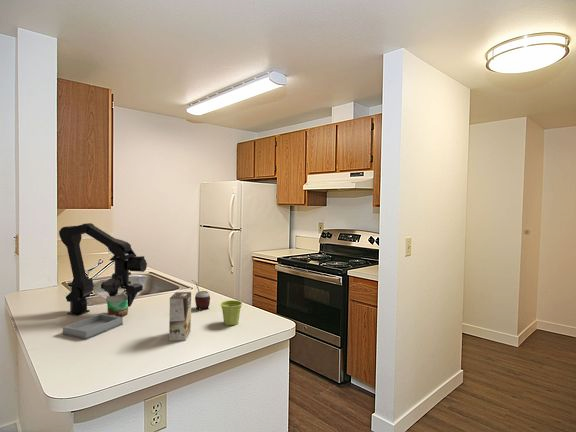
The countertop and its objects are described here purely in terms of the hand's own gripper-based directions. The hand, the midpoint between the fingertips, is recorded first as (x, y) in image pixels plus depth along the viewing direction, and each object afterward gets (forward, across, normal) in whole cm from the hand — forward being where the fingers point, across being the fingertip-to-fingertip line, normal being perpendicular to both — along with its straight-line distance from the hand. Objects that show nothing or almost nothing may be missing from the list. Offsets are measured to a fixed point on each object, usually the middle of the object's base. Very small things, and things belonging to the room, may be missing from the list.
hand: (121, 305), depth 155 cm
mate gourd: (+5, +27, +22) cm, 35 cm away
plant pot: (+5, +49, +11) cm, 50 cm away
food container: (+5, 0, 0) cm, 5 cm away
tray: (+4, +3, -17) cm, 18 cm away
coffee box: (+5, +38, -9) cm, 39 cm away
